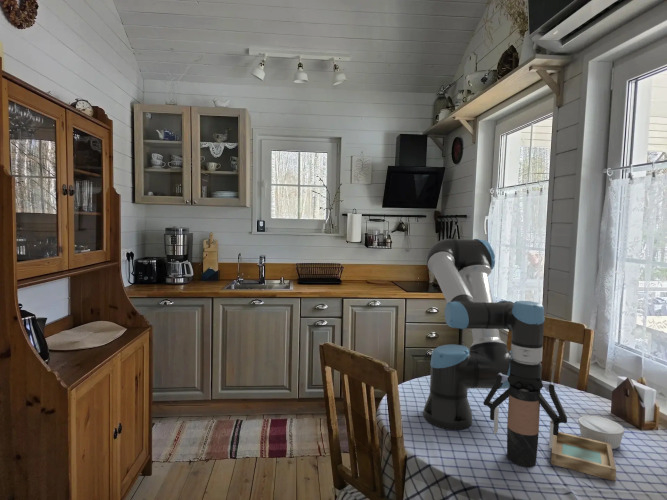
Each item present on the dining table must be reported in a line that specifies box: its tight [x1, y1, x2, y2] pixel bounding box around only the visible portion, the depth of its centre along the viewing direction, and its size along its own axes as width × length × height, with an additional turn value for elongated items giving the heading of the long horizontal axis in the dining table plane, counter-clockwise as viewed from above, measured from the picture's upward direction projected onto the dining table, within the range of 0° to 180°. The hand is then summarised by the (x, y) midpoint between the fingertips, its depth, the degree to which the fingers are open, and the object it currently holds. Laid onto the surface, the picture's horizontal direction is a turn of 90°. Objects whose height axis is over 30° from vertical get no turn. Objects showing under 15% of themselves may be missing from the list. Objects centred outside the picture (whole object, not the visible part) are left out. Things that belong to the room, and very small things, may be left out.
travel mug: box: [506, 385, 541, 468], centre depth 108 cm, size 8×8×20 cm
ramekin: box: [577, 415, 625, 450], centre depth 119 cm, size 11×11×5 cm
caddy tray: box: [550, 431, 617, 482], centre depth 109 cm, size 14×14×3 cm
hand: (522, 438), depth 108 cm, fingers open, 13 cm apart
